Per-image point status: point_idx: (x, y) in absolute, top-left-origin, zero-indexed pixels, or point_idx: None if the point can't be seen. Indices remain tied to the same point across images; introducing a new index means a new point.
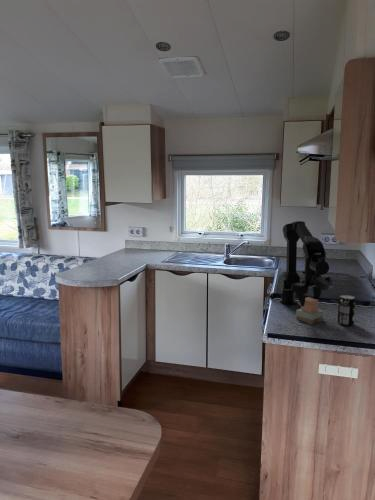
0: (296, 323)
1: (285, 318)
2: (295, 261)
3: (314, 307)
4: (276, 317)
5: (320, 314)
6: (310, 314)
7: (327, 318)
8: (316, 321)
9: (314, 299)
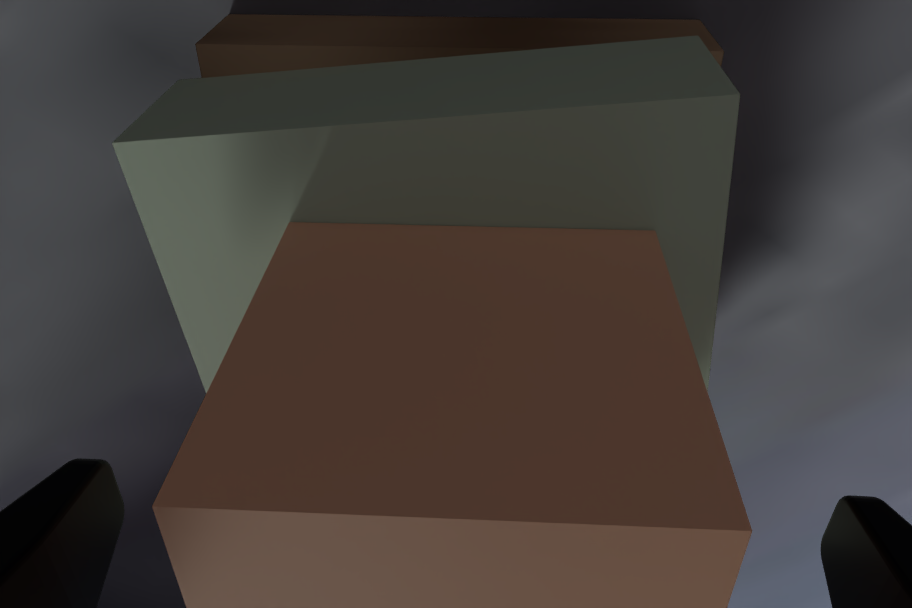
0: (895, 240)
1: (761, 483)
2: None
3: (445, 307)
4: (820, 568)
5: (267, 95)
6: (726, 168)
7: (15, 32)
8: (488, 23)
9: (276, 599)
